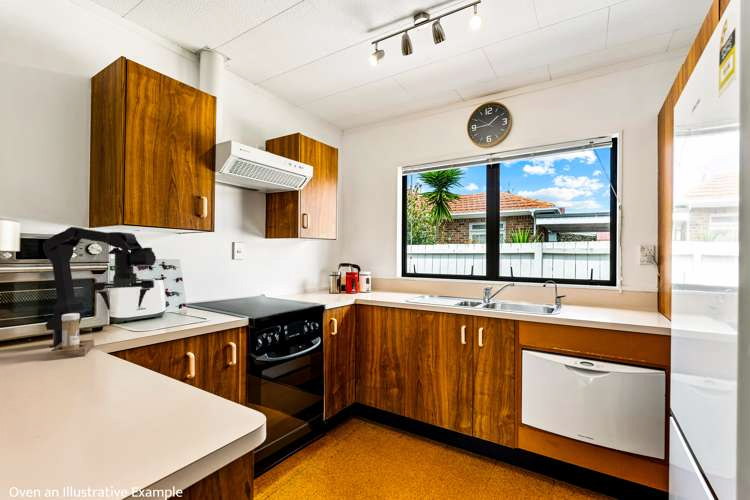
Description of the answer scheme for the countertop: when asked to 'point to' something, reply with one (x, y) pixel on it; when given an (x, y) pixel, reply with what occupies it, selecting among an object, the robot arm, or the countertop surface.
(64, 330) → the sprinkles bottle
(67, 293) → the robot arm
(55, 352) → the socket board
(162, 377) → the countertop surface
